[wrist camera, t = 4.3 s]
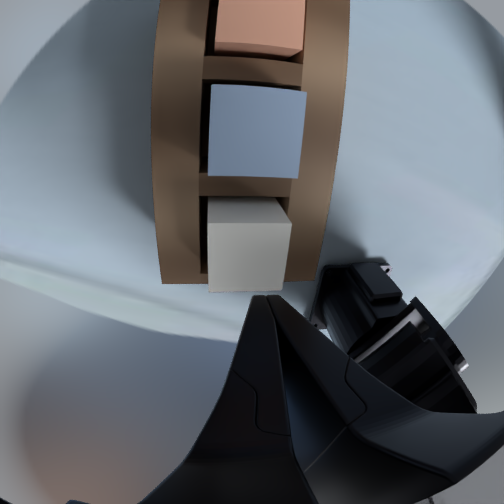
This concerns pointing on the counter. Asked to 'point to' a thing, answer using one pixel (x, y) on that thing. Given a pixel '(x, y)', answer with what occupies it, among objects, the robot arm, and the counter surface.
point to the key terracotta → (259, 28)
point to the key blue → (255, 131)
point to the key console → (197, 132)
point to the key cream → (246, 243)
